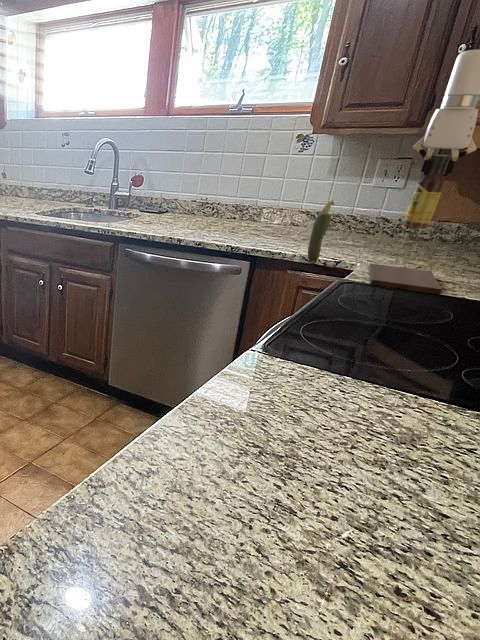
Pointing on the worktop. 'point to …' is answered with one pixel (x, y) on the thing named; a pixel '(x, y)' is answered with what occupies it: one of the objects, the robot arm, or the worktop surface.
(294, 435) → the worktop surface
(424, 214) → the sauce bottle
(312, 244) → the vegetable
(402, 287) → the board
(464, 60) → the robot arm
